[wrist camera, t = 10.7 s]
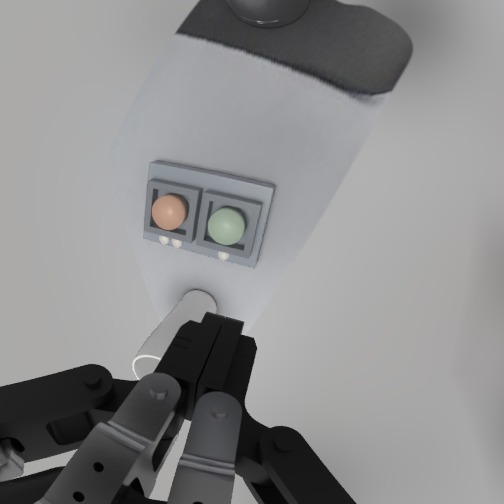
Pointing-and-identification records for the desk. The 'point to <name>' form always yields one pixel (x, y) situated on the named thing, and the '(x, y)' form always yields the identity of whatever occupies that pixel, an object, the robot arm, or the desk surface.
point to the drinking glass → (171, 330)
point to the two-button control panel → (208, 210)
